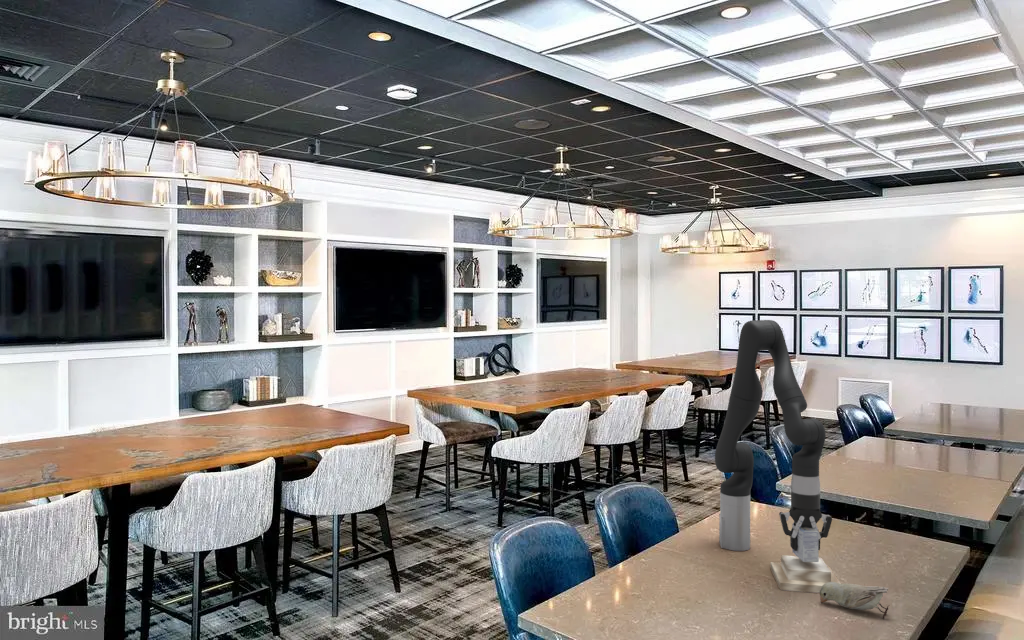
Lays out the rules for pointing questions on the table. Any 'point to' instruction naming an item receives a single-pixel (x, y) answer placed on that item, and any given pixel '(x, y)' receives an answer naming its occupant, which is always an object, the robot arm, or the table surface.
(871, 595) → the decorative bird
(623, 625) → the table surface
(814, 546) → the medicine box
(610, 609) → the table surface
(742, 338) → the robot arm
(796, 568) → the pedestal
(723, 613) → the table surface
